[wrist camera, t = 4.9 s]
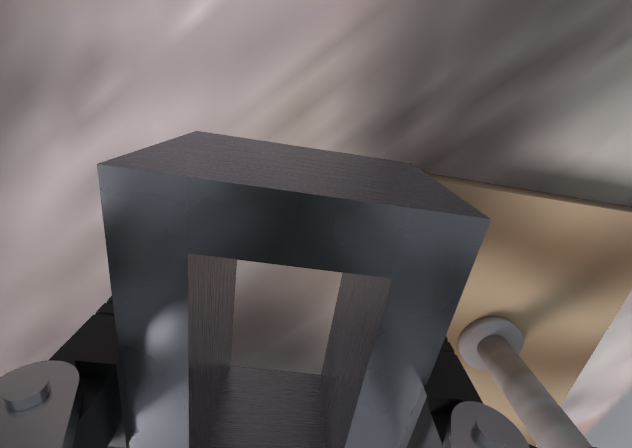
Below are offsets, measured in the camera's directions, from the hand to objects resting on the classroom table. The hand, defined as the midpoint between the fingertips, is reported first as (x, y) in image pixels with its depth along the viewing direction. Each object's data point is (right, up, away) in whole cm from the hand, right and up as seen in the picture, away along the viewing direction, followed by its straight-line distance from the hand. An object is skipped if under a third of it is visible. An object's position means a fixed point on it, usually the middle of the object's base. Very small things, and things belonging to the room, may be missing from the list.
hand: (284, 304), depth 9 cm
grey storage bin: (0, 0, +1) cm, 1 cm away
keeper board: (+10, -3, +9) cm, 14 cm away
